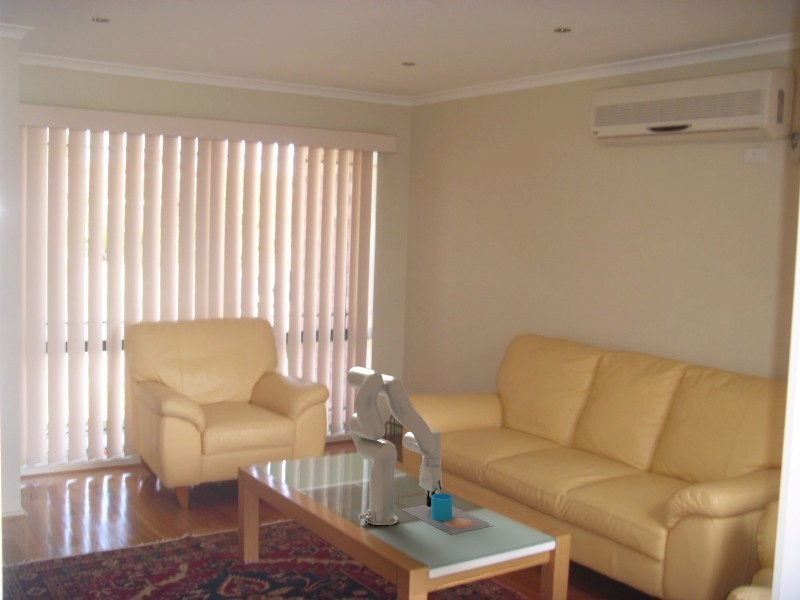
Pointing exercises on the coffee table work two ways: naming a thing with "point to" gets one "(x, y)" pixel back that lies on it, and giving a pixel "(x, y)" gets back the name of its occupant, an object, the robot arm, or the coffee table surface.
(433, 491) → the robot arm
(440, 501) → the mug
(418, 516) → the mat
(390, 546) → the coffee table surface
